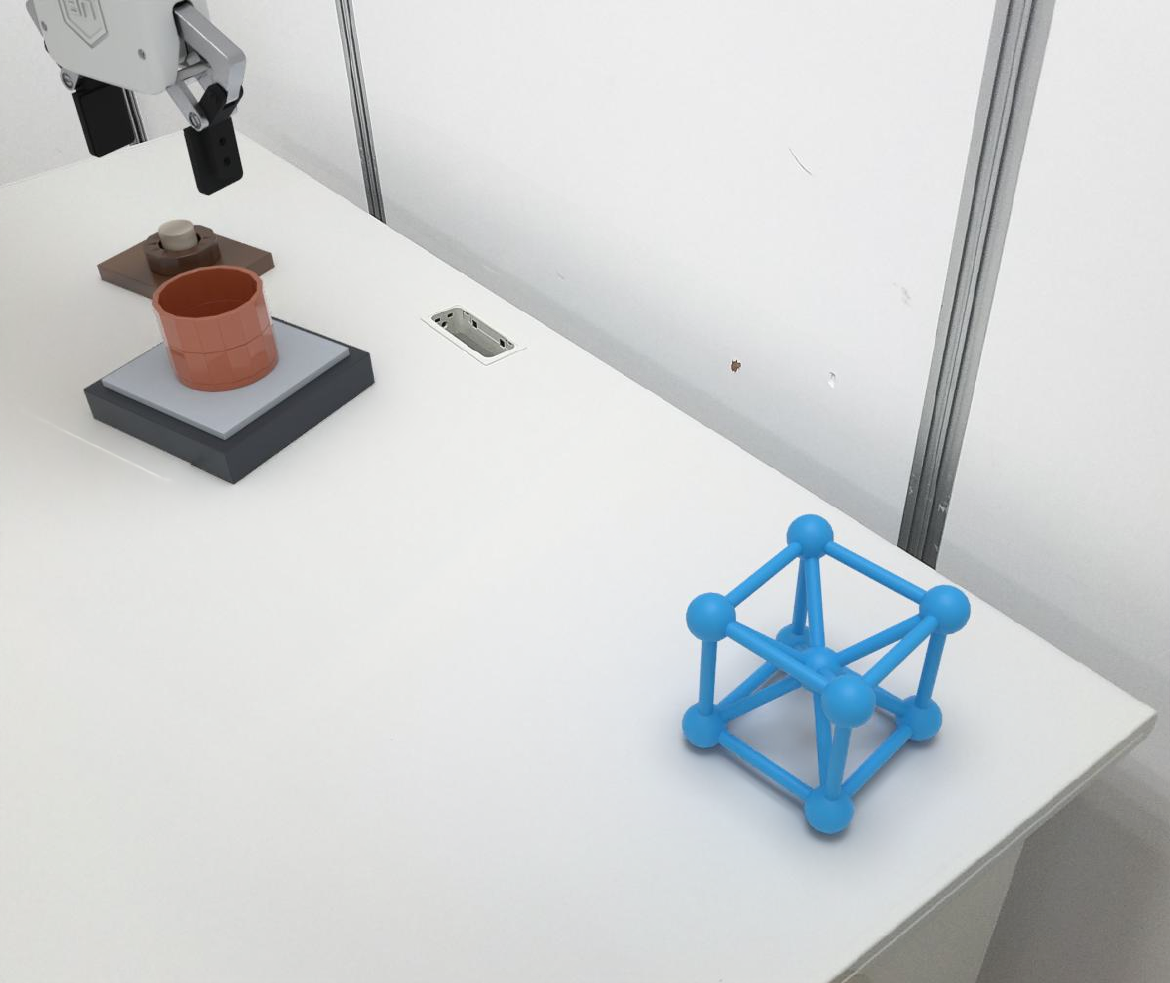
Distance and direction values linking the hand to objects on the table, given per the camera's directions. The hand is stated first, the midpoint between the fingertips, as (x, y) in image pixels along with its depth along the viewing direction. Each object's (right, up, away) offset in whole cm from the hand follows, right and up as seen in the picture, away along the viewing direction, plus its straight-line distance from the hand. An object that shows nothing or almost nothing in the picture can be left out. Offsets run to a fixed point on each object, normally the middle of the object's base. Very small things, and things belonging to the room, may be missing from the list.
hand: (166, 167), depth 74 cm
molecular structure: (+37, -34, -12) cm, 52 cm away
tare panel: (-7, 0, +25) cm, 26 cm away
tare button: (-7, +2, +23) cm, 25 cm away
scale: (+1, -13, +12) cm, 17 cm away
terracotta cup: (+1, -10, +9) cm, 14 cm away
